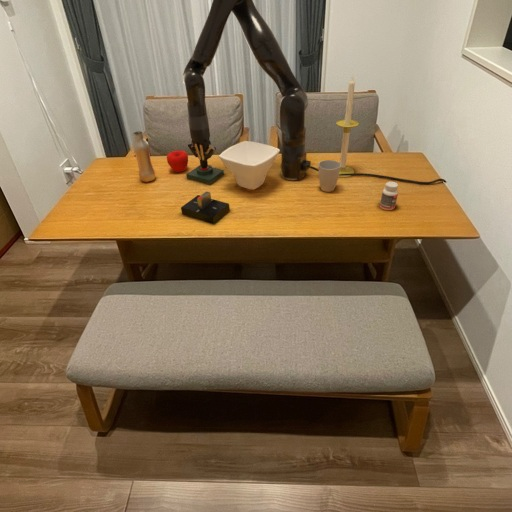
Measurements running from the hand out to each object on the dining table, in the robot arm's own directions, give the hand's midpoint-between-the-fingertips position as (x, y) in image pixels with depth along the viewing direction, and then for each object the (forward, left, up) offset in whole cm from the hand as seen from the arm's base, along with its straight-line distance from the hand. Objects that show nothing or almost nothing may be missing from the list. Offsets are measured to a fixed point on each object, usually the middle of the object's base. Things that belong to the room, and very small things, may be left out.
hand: (204, 167), depth 159 cm
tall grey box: (-17, +23, -1) cm, 29 cm away
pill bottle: (-73, -10, -4) cm, 74 cm away
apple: (+14, 0, -4) cm, 14 cm away
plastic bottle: (+20, +13, -4) cm, 24 cm away
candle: (-49, -29, -4) cm, 57 cm away
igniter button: (0, 0, -2) cm, 2 cm away
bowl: (-21, -2, -4) cm, 22 cm away
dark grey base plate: (0, 0, -4) cm, 4 cm away
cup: (-49, -13, -4) cm, 51 cm away
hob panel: (-17, +23, -4) cm, 29 cm away
